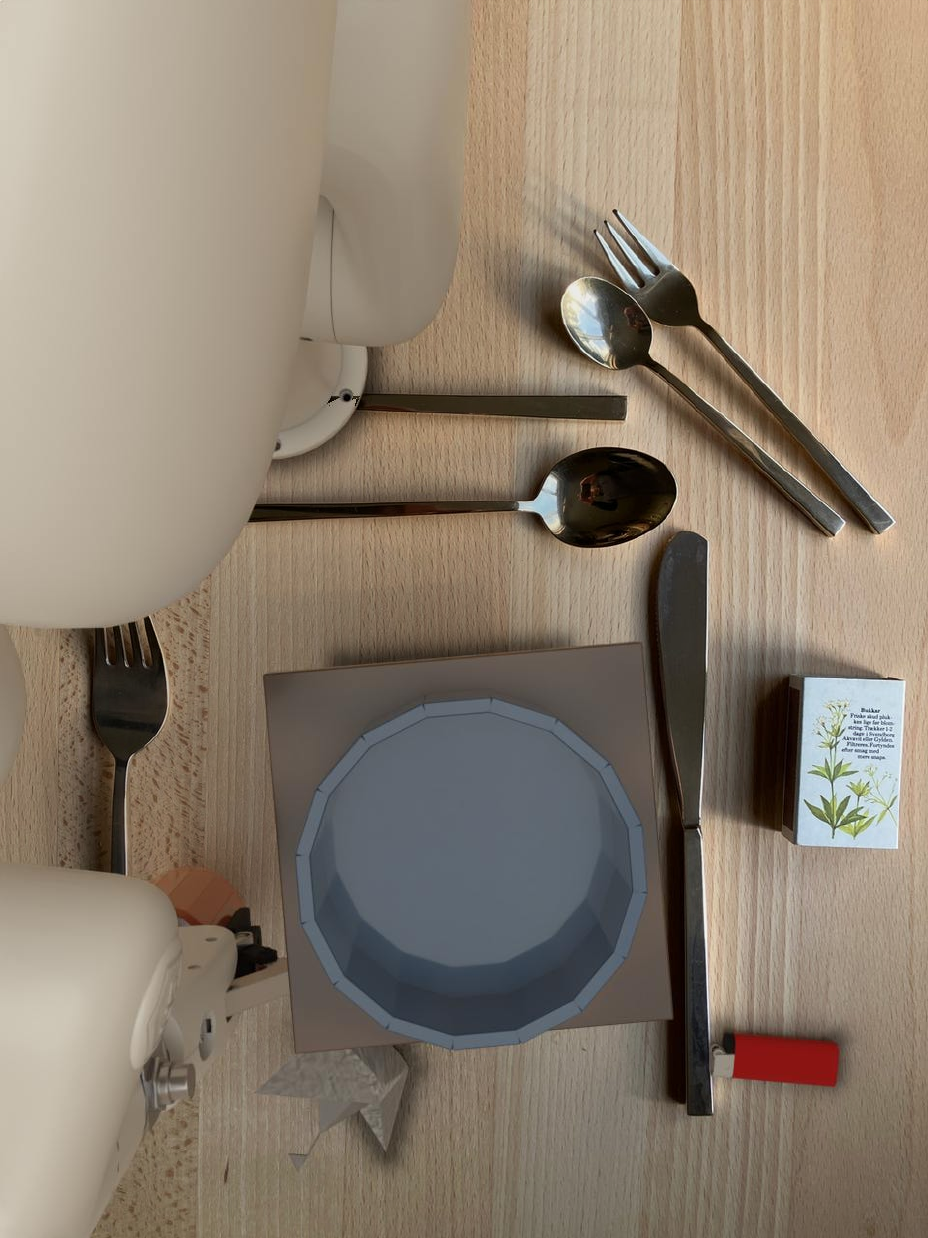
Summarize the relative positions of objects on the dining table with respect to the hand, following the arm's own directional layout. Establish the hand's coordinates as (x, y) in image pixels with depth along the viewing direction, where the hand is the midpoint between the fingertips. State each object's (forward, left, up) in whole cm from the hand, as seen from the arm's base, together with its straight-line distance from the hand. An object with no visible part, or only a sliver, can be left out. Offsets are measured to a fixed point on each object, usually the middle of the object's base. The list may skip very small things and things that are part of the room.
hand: (178, 940), depth 60 cm
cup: (0, 0, -3) cm, 3 cm away
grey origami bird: (+12, +7, -8) cm, 16 cm away
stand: (-7, +17, -8) cm, 20 cm away
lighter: (+13, +35, -7) cm, 38 cm away
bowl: (-7, +17, +16) cm, 25 cm away
